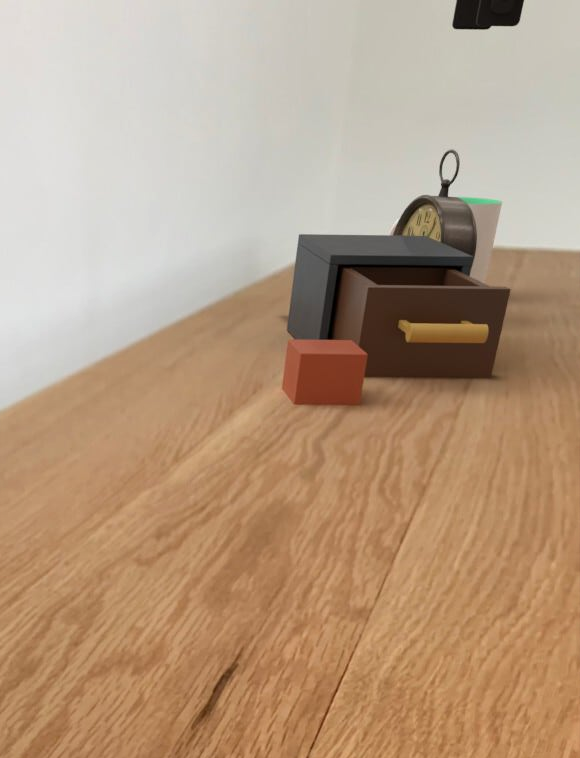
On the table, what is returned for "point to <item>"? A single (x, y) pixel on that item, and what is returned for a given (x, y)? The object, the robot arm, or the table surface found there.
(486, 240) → the mug
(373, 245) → the cabinet
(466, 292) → the drawer
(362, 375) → the block
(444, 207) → the alarm clock
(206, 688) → the table surface
